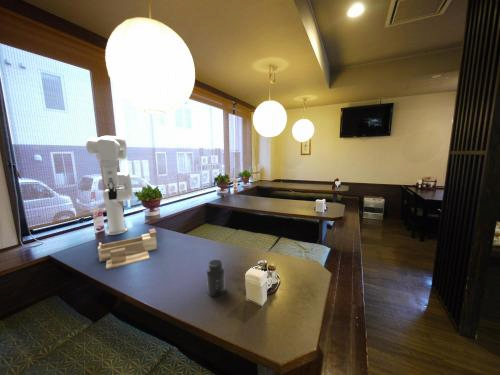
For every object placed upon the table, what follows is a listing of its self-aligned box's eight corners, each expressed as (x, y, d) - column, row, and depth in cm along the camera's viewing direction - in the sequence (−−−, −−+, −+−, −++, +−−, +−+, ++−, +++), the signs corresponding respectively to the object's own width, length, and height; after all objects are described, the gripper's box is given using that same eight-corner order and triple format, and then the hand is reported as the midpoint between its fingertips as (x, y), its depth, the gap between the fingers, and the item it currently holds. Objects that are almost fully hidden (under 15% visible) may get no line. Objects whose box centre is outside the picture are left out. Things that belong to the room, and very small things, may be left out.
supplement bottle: (204, 291, 80) (202, 262, 78) (218, 283, 84) (217, 256, 83) (214, 299, 75) (212, 269, 73) (228, 291, 79) (227, 262, 78)
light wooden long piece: (101, 255, 111) (99, 242, 110) (154, 243, 125) (153, 232, 124) (99, 261, 104) (97, 248, 103) (157, 248, 118) (155, 236, 117)
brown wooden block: (149, 233, 122) (148, 229, 122) (154, 232, 124) (154, 228, 123) (150, 237, 116) (150, 233, 116) (156, 236, 118) (156, 232, 117)
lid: (106, 262, 104) (105, 249, 103) (147, 253, 114) (146, 240, 113) (106, 270, 97) (104, 256, 95) (149, 259, 106) (148, 246, 105)
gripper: (117, 164, 96) (122, 199, 99) (118, 163, 111) (121, 194, 113) (98, 164, 92) (103, 201, 95) (101, 164, 107) (105, 196, 109)
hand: (113, 197), depth 104 cm, fingers open, 9 cm apart
